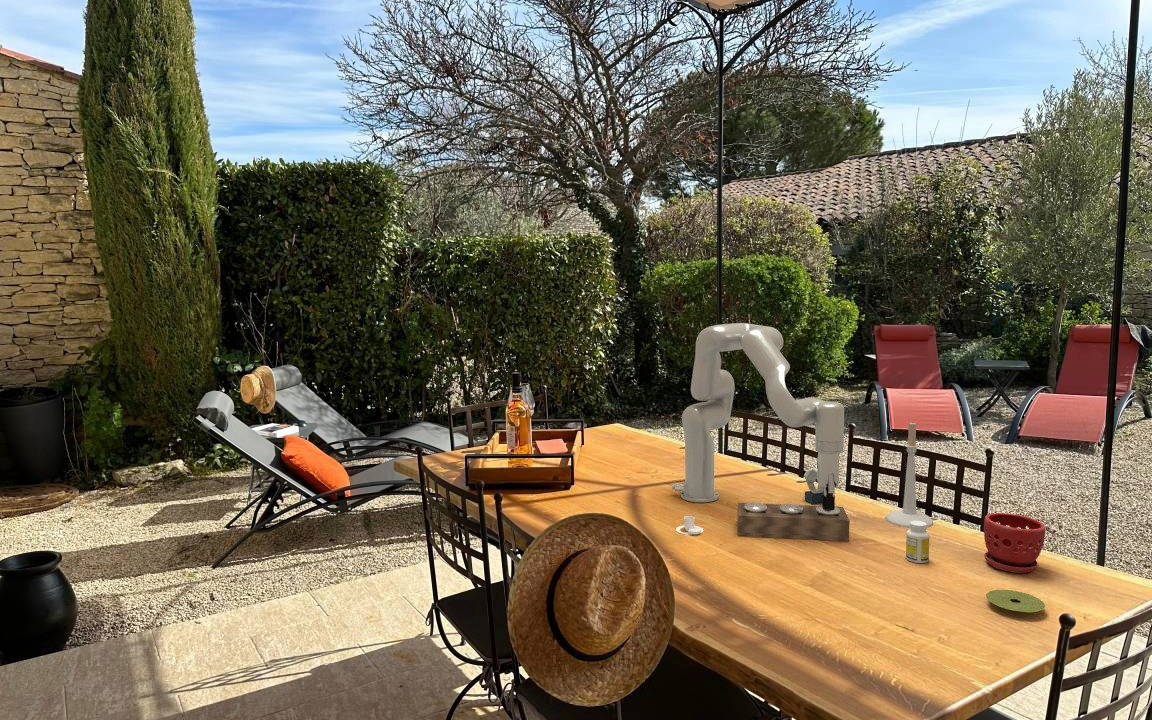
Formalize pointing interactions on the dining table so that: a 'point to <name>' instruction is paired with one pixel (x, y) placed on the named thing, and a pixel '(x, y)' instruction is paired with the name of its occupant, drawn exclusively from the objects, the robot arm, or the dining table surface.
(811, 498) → the watch
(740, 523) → the knob bar
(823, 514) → the knob
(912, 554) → the supplement bottle
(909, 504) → the candlestick
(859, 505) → the dining table surface
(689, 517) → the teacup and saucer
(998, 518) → the plant pot
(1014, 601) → the mat
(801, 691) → the dining table surface
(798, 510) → the knob mid
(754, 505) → the knob
